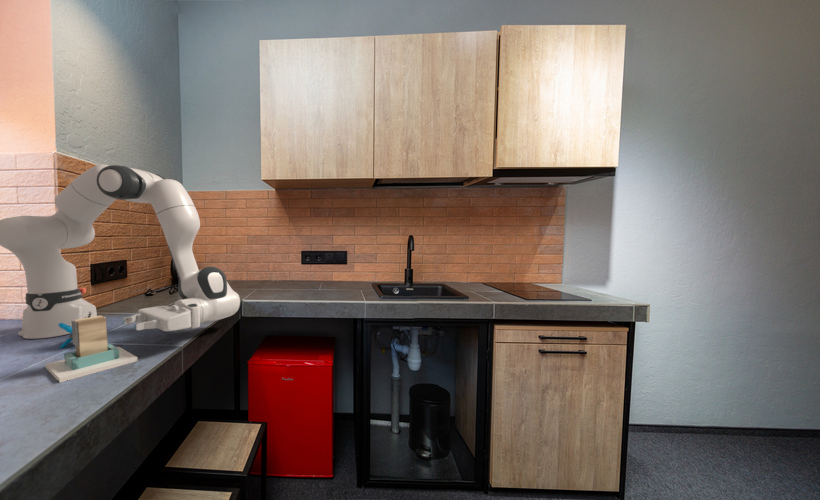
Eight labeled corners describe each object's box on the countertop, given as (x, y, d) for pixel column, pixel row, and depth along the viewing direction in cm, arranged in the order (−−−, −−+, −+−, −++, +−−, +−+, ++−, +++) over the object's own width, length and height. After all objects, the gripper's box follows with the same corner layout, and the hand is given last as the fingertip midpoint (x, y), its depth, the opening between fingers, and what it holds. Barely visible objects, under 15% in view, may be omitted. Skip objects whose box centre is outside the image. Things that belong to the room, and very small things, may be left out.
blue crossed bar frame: (98, 340, 93) (61, 322, 88) (78, 359, 90) (39, 340, 85) (98, 336, 101) (64, 319, 96) (80, 353, 97) (44, 336, 93)
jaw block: (73, 362, 79) (70, 320, 78) (103, 355, 84) (100, 315, 83) (78, 366, 77) (75, 323, 76) (108, 358, 82) (105, 317, 81)
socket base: (45, 367, 78) (44, 354, 78) (119, 349, 90) (118, 338, 90) (59, 382, 71) (58, 367, 71) (137, 360, 83) (136, 348, 83)
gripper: (171, 299, 103) (115, 308, 92) (201, 307, 92) (142, 318, 81) (171, 317, 104) (116, 329, 92) (201, 328, 93) (143, 342, 81)
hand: (129, 324), depth 86 cm, fingers open, 8 cm apart
